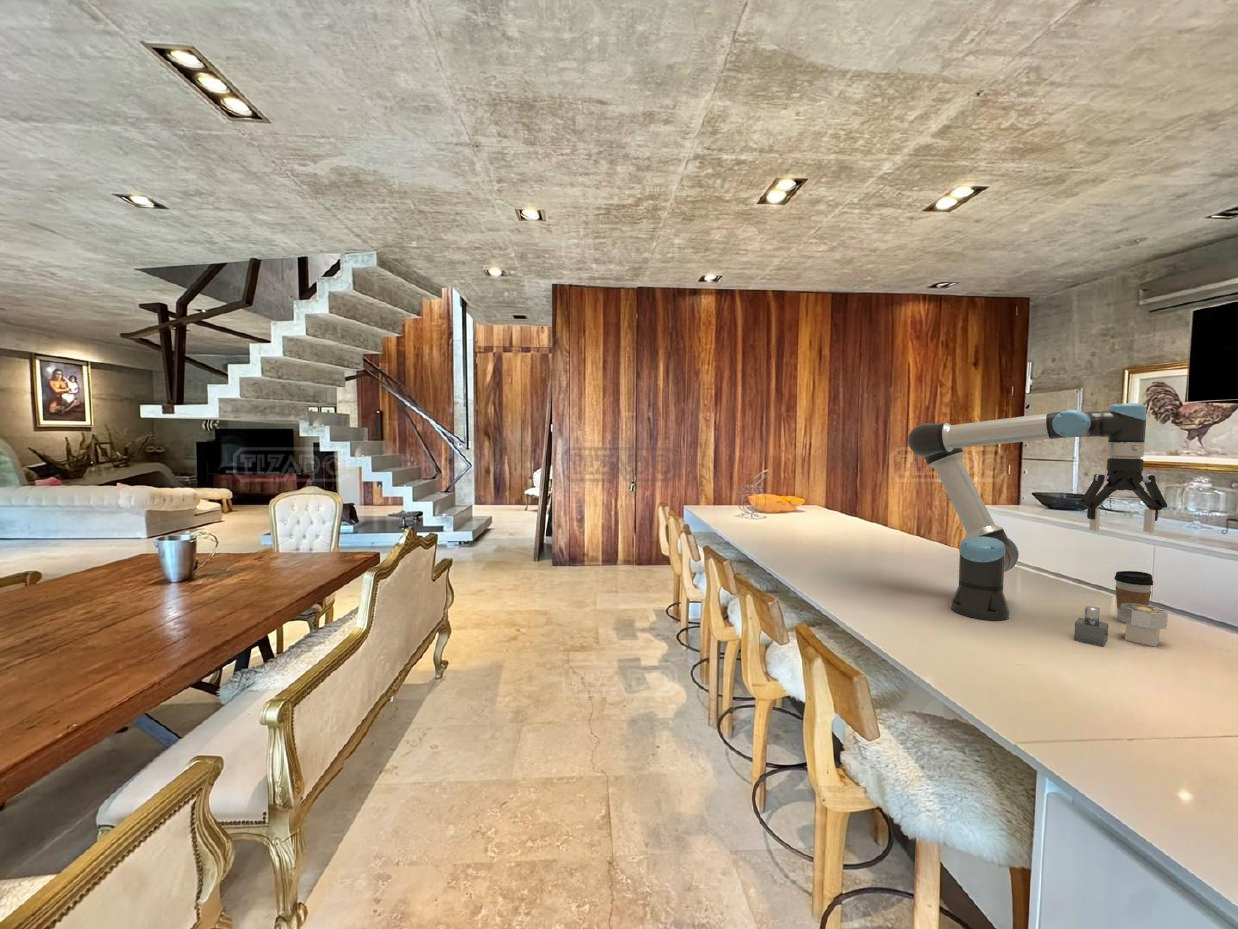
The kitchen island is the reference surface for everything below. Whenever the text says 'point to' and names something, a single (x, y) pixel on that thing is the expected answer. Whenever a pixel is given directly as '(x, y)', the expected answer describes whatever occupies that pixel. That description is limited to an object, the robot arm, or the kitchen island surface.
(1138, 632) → the hub
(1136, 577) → the coffee cup
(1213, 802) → the kitchen island surface
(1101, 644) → the stand
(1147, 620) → the ring
